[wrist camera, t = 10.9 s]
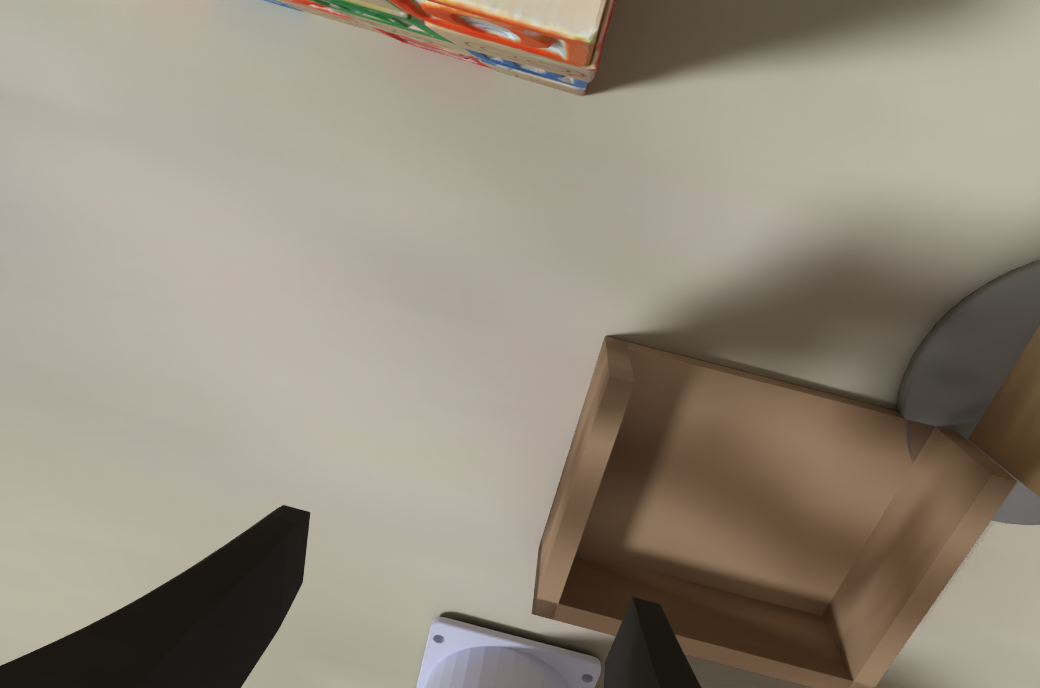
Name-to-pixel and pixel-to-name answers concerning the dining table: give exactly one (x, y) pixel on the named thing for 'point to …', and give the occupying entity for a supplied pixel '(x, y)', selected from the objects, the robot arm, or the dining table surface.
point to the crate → (758, 517)
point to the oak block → (1015, 420)
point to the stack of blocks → (489, 32)
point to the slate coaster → (975, 367)
